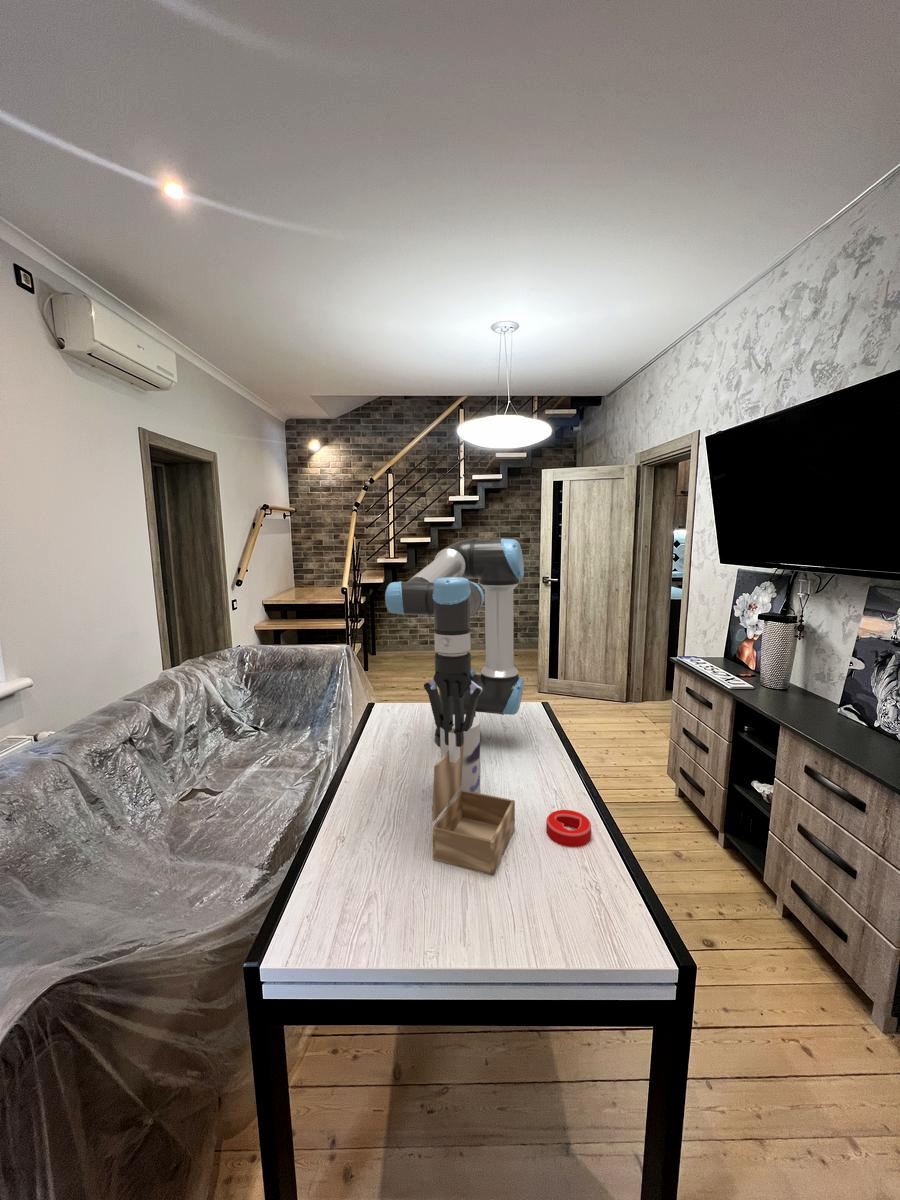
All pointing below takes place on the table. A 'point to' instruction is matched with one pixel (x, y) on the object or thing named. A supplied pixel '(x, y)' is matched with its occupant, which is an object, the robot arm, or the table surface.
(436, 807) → the lid
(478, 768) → the container
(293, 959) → the table surface
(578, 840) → the decorative ornament
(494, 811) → the wooden box
